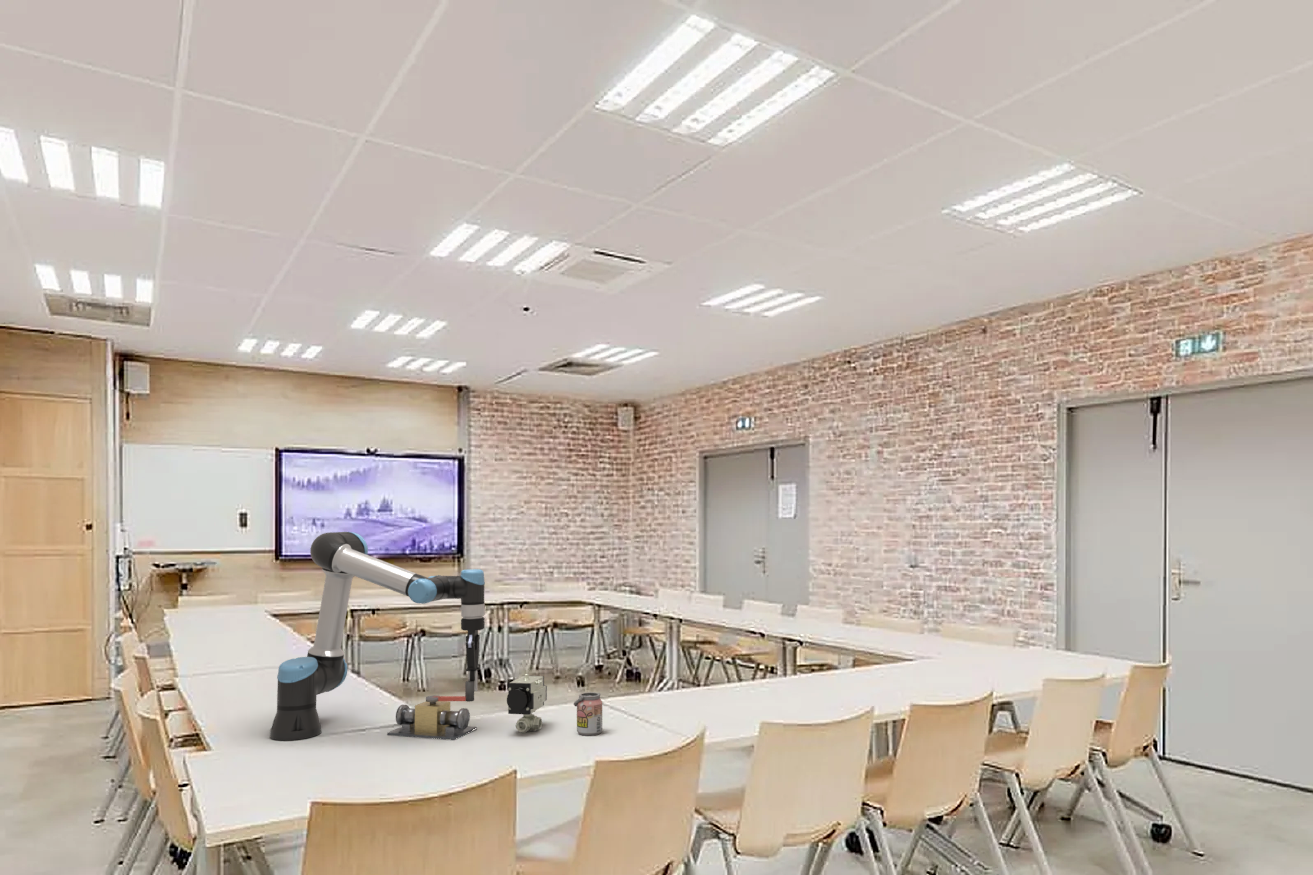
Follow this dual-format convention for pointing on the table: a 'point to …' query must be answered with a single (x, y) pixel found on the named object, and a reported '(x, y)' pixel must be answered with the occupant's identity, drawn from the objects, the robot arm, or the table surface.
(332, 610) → the robot arm
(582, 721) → the beverage can
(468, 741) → the table surface
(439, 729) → the valve assembly
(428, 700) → the lever
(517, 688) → the ball valve
